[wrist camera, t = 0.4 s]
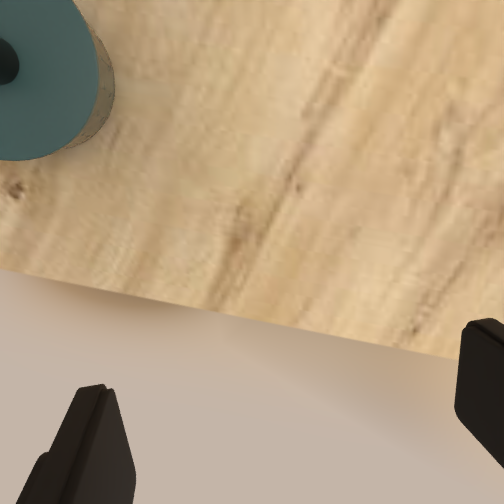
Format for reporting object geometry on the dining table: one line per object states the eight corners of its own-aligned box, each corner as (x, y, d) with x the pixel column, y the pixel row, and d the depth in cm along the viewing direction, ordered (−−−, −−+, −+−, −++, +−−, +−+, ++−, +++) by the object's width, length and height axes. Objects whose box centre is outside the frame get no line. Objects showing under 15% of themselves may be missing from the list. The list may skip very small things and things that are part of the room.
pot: (-59, 5, 29) (-140, -35, 22) (95, -10, 31) (65, -53, 24) (-5, 157, 33) (-59, 164, 26) (129, 139, 34) (112, 140, 27)
